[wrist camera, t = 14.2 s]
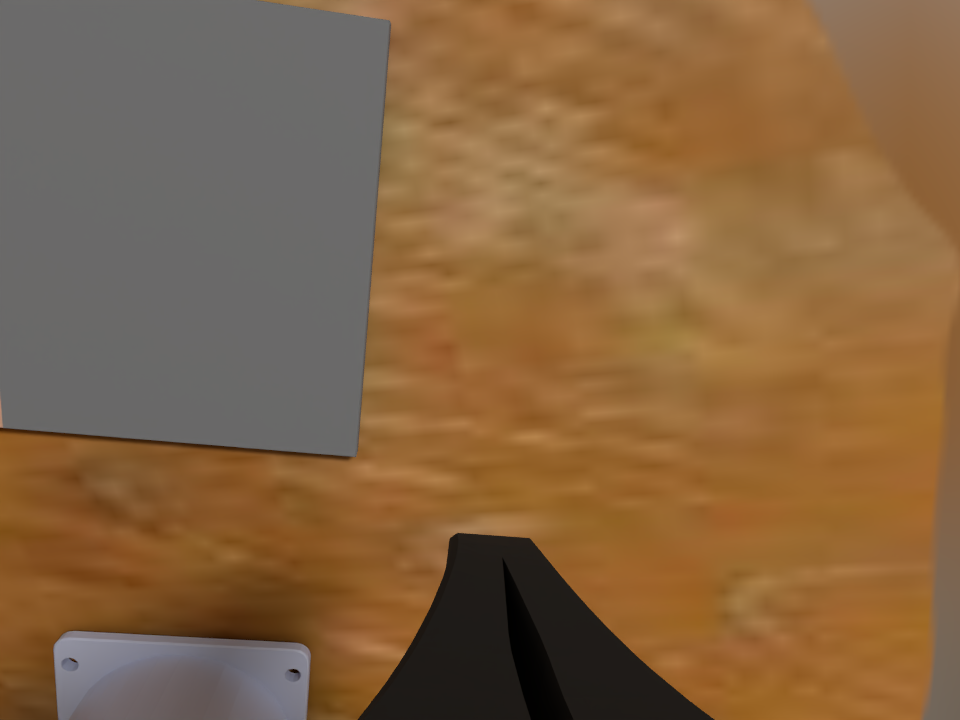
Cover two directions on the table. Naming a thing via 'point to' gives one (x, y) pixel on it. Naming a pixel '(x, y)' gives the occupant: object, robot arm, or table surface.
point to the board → (188, 219)
